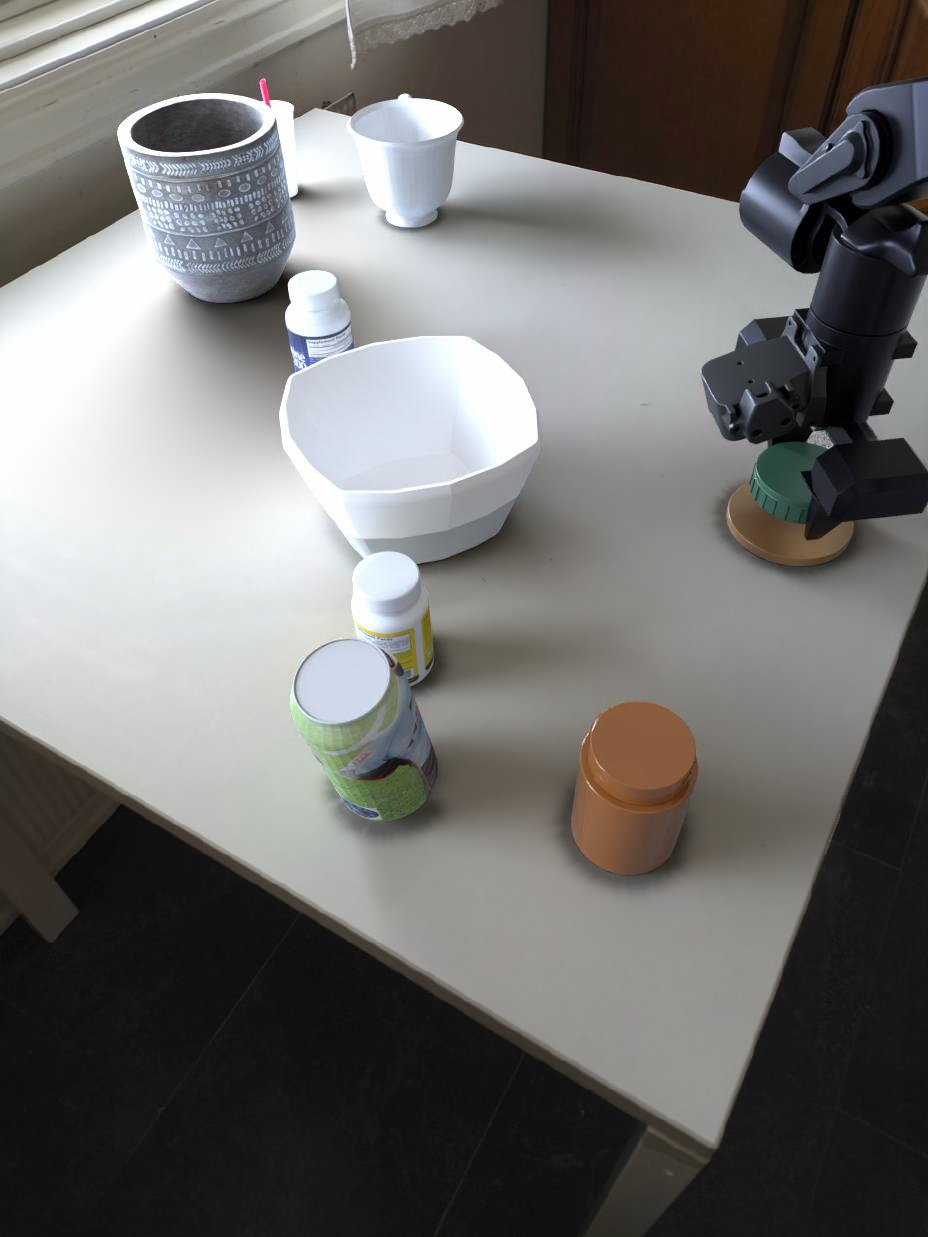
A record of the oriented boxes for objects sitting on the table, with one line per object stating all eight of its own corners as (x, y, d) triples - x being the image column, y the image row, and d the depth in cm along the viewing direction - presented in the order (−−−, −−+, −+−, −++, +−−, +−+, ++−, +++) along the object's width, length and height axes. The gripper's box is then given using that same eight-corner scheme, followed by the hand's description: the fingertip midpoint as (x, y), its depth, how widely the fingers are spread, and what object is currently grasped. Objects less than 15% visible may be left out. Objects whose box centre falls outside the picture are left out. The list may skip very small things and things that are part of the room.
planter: (223, 332, 86) (182, 171, 74) (134, 283, 92) (84, 128, 81) (331, 272, 93) (309, 116, 81) (241, 231, 99) (209, 81, 88)
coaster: (857, 499, 69) (861, 491, 68) (842, 580, 63) (845, 572, 63) (738, 472, 71) (741, 464, 70) (714, 547, 66) (716, 539, 65)
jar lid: (740, 511, 64) (746, 489, 62) (758, 453, 68) (764, 432, 66) (840, 535, 62) (848, 513, 60) (852, 474, 66) (860, 453, 64)
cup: (267, 206, 103) (246, 91, 94) (254, 187, 106) (232, 74, 97) (312, 196, 104) (295, 82, 95) (298, 178, 107) (280, 66, 98)
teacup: (461, 178, 106) (459, 85, 99) (468, 239, 97) (467, 140, 89) (359, 183, 106) (349, 90, 99) (356, 244, 96) (344, 146, 89)
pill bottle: (294, 372, 81) (275, 270, 74) (353, 363, 82) (339, 261, 75) (302, 407, 78) (283, 304, 70) (364, 397, 79) (350, 293, 71)
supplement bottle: (401, 623, 62) (390, 534, 55) (449, 661, 59) (444, 573, 53) (347, 662, 59) (329, 575, 53) (394, 704, 57) (382, 617, 51)
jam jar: (688, 799, 52) (716, 715, 46) (662, 891, 49) (688, 814, 42) (588, 766, 54) (602, 680, 47) (556, 853, 50) (566, 772, 44)
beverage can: (460, 777, 54) (453, 651, 44) (373, 866, 50) (347, 749, 41) (384, 720, 56) (363, 591, 47) (297, 801, 53) (256, 678, 44)
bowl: (483, 416, 76) (482, 315, 69) (571, 555, 65) (580, 452, 58) (277, 467, 73) (254, 366, 65) (334, 623, 62) (313, 522, 55)
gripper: (683, 246, 59) (651, 437, 71) (786, 418, 47) (727, 613, 59) (846, 232, 60) (787, 423, 72) (988, 397, 48) (889, 594, 60)
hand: (793, 505), depth 66 cm, fingers closed on jar lid, 7 cm apart
